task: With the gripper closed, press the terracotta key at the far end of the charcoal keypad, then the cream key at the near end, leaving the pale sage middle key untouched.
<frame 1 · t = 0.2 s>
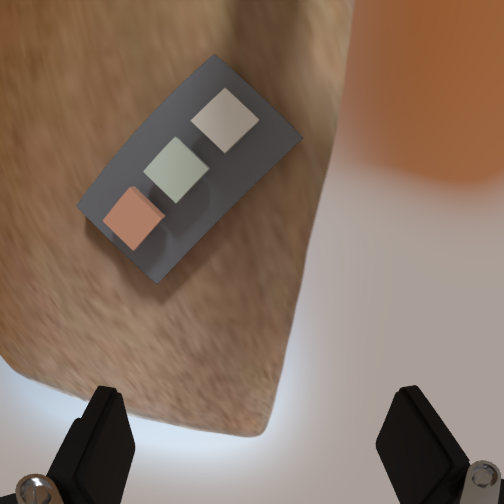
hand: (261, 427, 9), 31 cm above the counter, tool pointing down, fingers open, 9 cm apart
sage key: (176, 169, 31), point 5 cm above the counter, slide at 0.0 cm
terracotta key: (133, 218, 32), point 5 cm above the counter, slide at 0.0 cm
keypad: (185, 168, 37), on the counter
cream key: (225, 120, 30), point 5 cm above the counter, slide at 0.0 cm
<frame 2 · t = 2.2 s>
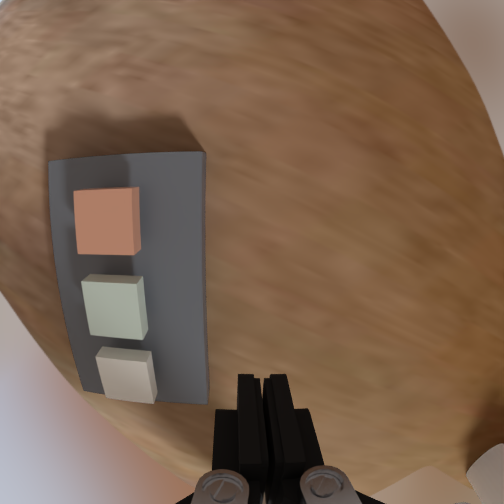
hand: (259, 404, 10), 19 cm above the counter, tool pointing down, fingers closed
sage key: (115, 306, 24), point 5 cm above the counter, slide at 0.0 cm
terracotta key: (107, 220, 22), point 5 cm above the counter, slide at 0.0 cm
bottle: (485, 460, 44), on the counter
keypad: (134, 283, 29), on the counter
cream key: (127, 375, 26), point 5 cm above the counter, slide at 0.0 cm
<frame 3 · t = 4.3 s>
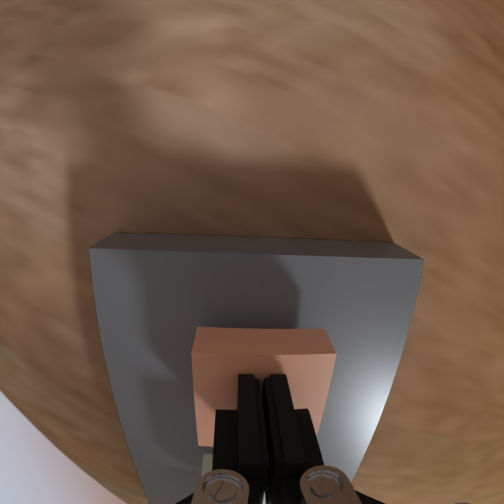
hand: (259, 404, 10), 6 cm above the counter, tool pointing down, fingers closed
sage key: (251, 492, 13), point 5 cm above the counter, slide at 0.0 cm
terracotta key: (259, 392, 11), point 5 cm above the counter, slide at 0.5 cm, touching gripper
keypad: (248, 425, 18), on the counter
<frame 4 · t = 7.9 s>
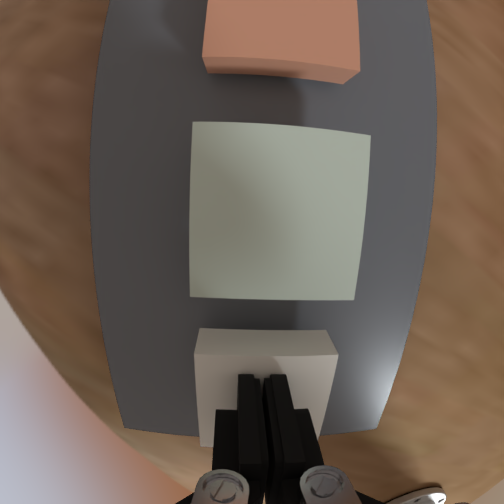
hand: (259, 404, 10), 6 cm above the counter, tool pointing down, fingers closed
sage key: (276, 210, 9), point 5 cm above the counter, slide at 0.0 cm
terracotta key: (281, 9, 8), point 5 cm above the counter, slide at 0.9 cm
keypad: (263, 195, 14), on the counter
cream key: (261, 393, 11), point 5 cm above the counter, slide at 0.4 cm, touching gripper
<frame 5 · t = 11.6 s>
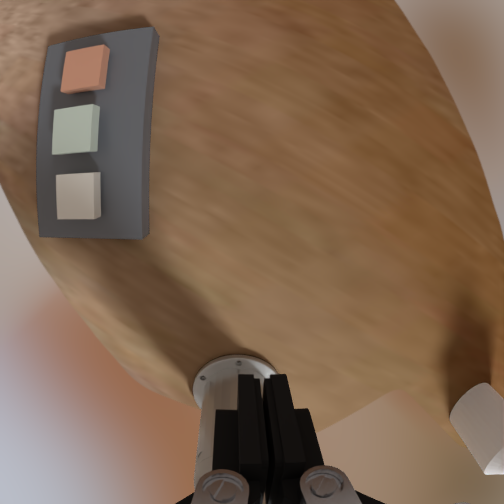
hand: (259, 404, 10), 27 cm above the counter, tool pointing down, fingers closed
sage key: (75, 130, 27), point 5 cm above the counter, slide at 0.0 cm
terracotta key: (84, 69, 26), point 5 cm above the counter, slide at 0.9 cm
bottle: (470, 403, 48), on the counter
keypad: (96, 133, 32), on the counter
cream key: (78, 195, 30), point 4 cm above the counter, slide at 0.9 cm
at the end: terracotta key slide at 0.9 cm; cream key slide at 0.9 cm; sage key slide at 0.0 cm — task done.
